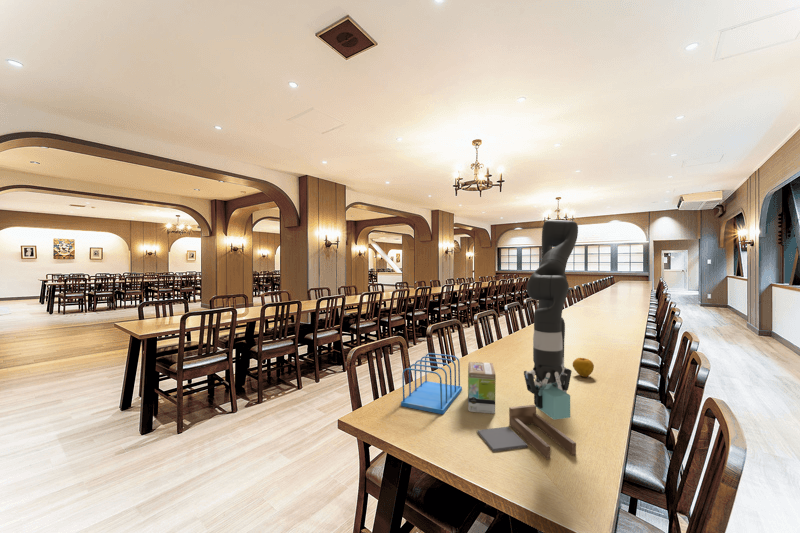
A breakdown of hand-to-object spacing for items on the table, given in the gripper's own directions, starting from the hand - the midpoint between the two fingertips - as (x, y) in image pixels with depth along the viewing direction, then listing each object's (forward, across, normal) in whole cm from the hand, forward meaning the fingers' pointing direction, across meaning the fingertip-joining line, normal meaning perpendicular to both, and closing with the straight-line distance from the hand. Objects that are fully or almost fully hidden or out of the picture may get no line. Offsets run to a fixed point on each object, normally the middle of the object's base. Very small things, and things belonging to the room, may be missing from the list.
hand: (547, 406), depth 91 cm
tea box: (+15, -2, +37) cm, 40 cm away
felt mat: (+15, -8, +12) cm, 21 cm away
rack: (+15, +4, +10) cm, 18 cm away
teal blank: (+1, 0, -2) cm, 2 cm away
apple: (+16, +60, +54) cm, 83 cm away
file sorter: (+16, -18, +47) cm, 53 cm away
